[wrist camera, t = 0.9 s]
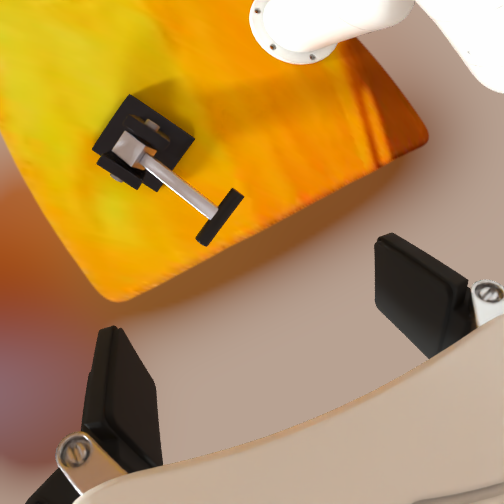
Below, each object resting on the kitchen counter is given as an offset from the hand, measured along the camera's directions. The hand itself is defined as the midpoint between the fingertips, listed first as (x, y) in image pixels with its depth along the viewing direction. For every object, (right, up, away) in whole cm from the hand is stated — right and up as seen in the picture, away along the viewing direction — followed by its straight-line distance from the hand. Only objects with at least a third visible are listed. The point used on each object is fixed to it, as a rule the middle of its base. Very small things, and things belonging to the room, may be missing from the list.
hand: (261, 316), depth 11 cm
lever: (-7, +8, +16) cm, 19 cm away
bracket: (-14, +15, +25) cm, 32 cm away
